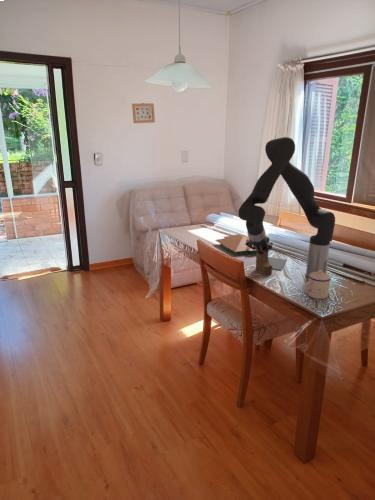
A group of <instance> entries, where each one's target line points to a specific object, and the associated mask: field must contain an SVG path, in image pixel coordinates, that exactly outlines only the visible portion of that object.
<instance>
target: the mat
mask: <svg viewBox="0 0 375 500" xmlns="http://www.w3.org/2000/svg"><path fill="white" fill-rule="evenodd" d="M287 260H288V259H285V258H277V257H270V256H268V261H269V263H270V265H272V271H273V270H275V271H282V270H283V268H284V267H285V264H286V263H287V262H288V261H287Z"/></svg>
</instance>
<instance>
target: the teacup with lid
mask: <svg viewBox="0 0 375 500" xmlns="http://www.w3.org/2000/svg"><path fill="white" fill-rule="evenodd" d="M331 280H332V277H331V276H330V275H329V274H328V273H327V272H326V273H324V272H323V270H318V271H317V272H312V273H310V274H309V277H308V281H307V282H305V284H304V290H305V292H306V293H307V295H308V296H309V297H311V298H312V299H313V298H314V299H320V300H322V299H327V298H328V296H329V291H330V283H331Z"/></svg>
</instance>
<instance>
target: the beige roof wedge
mask: <svg viewBox="0 0 375 500" xmlns="http://www.w3.org/2000/svg"><path fill="white" fill-rule="evenodd" d="M246 240H249V237H248V236H246V235H244V234H241V233H239V234H232V235H228V236H223V238H220V239H215V240H214V241H216V242H217V243H218V244H220V247H221V248H223V250H227V252H228V253H231V255H234V256H235V257H236V256H237V253H238V255H239V256H241V255H242V253H241V252H244V255H249V252H251V255H254V254H256V252H257V250H256V249H255V250H253V249H251V248H250V247H248V246H247V245H245V244H246ZM252 247H253V245H252Z"/></svg>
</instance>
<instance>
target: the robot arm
mask: <svg viewBox="0 0 375 500" xmlns="http://www.w3.org/2000/svg"><path fill="white" fill-rule="evenodd" d="M295 152H296V143H295V141H294V140H293V139H292V137H289V136H282V137H278V138H275V139H274V138H273V139H271V140H269V141H268V142H267V143H266V144H265V154H266V157H267V159H268V160H269V161H270V163H271V164H270V166H269V167H268V168H267V169H265V171H264V172H263V173H262V174H261V175H260V176H259V178H258V179H257V180H256V183H255V184H254V186H253V189H252V191H251V193H250V194H249V195H248V196H247V198H246V199H245V200H244V201H243V202H242V203H241V205H240V207H239V208H238V212H237V215H238V217H239V219H241V220H242V221H246V222H245V227H246V229H247V230H246V231H247V237H248V238H249V240H246V244H245V245H247V246H248V247H250V248H251V249H253V250H255V249H256V250H257V251H256V253H257V252H258V253H259V254H261V255H262V254H264V251H267V250H271V249H272V248H273V245H274V243H273V242H269V243H268V241H267V239H266V236H267V235H266V229H265V228H264V219H265V216H266V211H265V209H264V207H262V206H260V205H261V204H265V203H267V201H268V200H269V198H270V195H271V192H272V191H273V188H274V186H275V184H276V182H277V181H278V179H279V177H280V176H281V177H282V179H283V180H284V181H285V183H286V185H287V187H288V188H289V190H290V192H291V193H292V195H293V196H294V198H295V199H296V200H297V202H298V204H299V206H300V207H301V209H302V211H303V213H304V215H305V217H306V219H307V221H308V223H309V226H311V227H312V228H315V229H317V232H316V234H315V235H314V234H313V235H311V236H310V238H309V244H308V253H307V260H306V271H305V276H306V277H307V278H309V274H310V273H312V272H317V271H318V270H323V272H324V273H326V274H327V270H328V269H327V268H328V263H329V262H328V261H329V253H330V245H331V241H332V239H333V235H334V230H335V225H336V216H335V214H334V212H332V211H328V210H325V209H322V208H321V207H320V206H319V204H318V203H317V201H316V199H315V187H314V185H313V183H312V181H311V179H310V178H309V176H308V175H307V174H306V173H305V172H304V171H302V170H301V169H300V168H298V167H296V166H295V165H294V164H293V163H291V160H292V158H293V156H294V154H295ZM257 204H258V205H257ZM252 245H253V247H252Z"/></svg>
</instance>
